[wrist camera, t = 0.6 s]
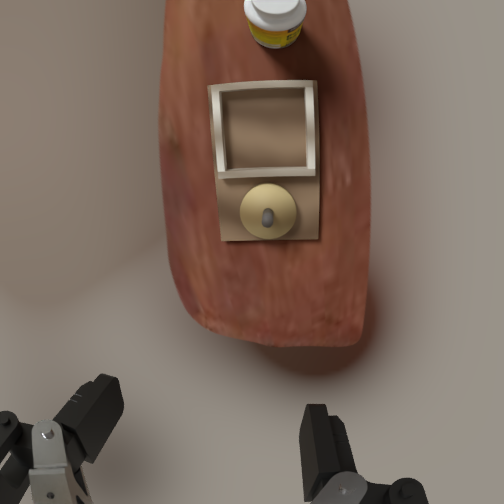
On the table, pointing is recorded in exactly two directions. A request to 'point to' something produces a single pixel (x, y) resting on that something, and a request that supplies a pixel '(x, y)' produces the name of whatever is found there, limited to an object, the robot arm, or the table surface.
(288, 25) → the supplement bottle
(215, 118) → the board
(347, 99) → the table surface
